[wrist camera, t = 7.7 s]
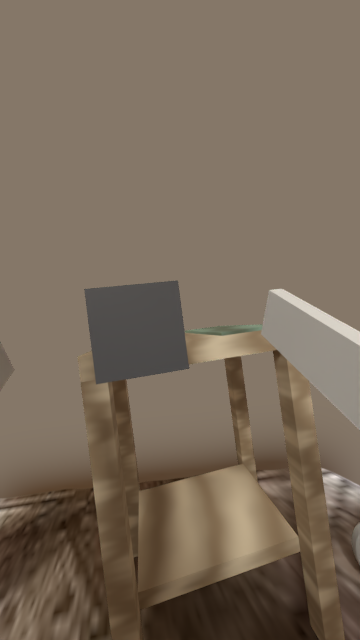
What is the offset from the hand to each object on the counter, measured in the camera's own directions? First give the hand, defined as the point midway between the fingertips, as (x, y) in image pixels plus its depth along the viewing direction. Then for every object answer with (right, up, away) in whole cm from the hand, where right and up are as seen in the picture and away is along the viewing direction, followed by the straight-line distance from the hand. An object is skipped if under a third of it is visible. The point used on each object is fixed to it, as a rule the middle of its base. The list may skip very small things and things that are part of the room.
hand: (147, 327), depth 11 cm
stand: (+6, -31, +15) cm, 35 cm away
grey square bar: (-2, -2, +9) cm, 9 cm away
